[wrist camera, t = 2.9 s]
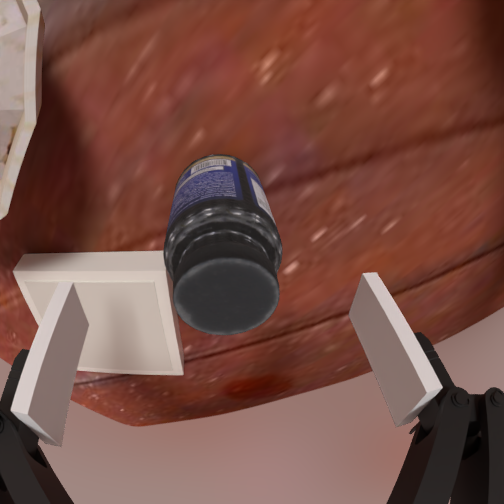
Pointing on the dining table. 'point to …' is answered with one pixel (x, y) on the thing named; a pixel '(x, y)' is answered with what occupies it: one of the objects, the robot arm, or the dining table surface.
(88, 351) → the square plate
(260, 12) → the dining table surface
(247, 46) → the dining table surface
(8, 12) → the bowl
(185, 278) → the pill bottle
